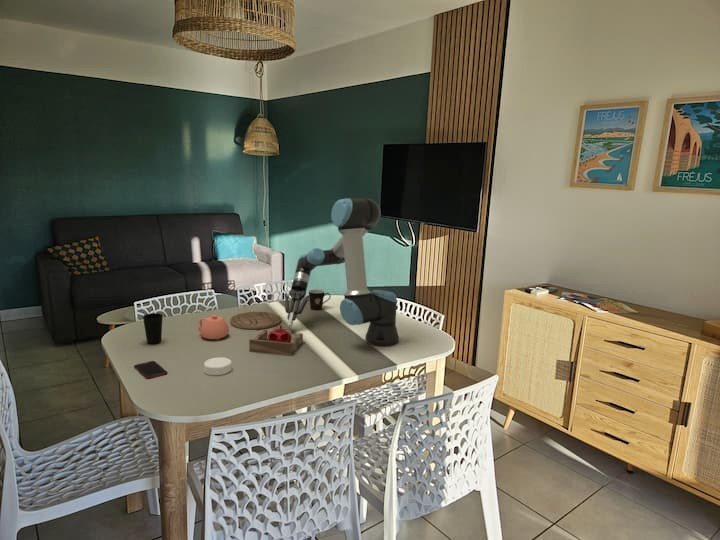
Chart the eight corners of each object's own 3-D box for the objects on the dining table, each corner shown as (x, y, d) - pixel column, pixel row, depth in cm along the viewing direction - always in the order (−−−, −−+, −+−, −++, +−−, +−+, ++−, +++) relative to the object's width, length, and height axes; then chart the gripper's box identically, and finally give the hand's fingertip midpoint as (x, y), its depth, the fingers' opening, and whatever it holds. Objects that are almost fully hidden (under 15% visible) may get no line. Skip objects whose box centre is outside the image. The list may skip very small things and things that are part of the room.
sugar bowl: (220, 342, 208) (220, 320, 206) (191, 339, 210) (190, 317, 208) (233, 334, 219) (233, 312, 217) (206, 331, 222) (205, 310, 220)
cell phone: (146, 380, 169) (146, 378, 169) (133, 367, 180) (133, 365, 180) (168, 375, 175) (168, 372, 174) (154, 362, 185) (154, 360, 185)
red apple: (270, 341, 211) (270, 321, 210) (292, 342, 211) (292, 322, 210) (266, 349, 202) (266, 328, 200) (289, 349, 202) (289, 328, 200)
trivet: (270, 312, 254) (270, 309, 254) (288, 326, 234) (288, 322, 233) (223, 318, 242) (223, 315, 241) (238, 333, 221) (238, 329, 220)
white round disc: (205, 377, 173) (205, 368, 172) (202, 367, 182) (202, 358, 181) (233, 373, 177) (233, 365, 176) (229, 364, 186) (229, 355, 185)
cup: (166, 342, 206) (165, 316, 203) (149, 346, 200) (147, 319, 198) (159, 338, 211) (157, 312, 208) (141, 342, 205) (139, 315, 203)
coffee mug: (306, 310, 260) (306, 292, 258) (310, 306, 269) (311, 288, 267) (327, 311, 258) (327, 294, 256) (330, 307, 267) (331, 290, 265)
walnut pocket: (264, 338, 215) (264, 327, 214) (302, 342, 212) (302, 331, 211) (249, 351, 199) (249, 340, 198) (290, 355, 196) (290, 344, 195)
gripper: (314, 288, 237) (304, 330, 224) (289, 286, 239) (278, 328, 226) (311, 280, 230) (301, 323, 218) (285, 278, 232) (274, 321, 220)
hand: (289, 326), depth 222 cm, fingers closed
